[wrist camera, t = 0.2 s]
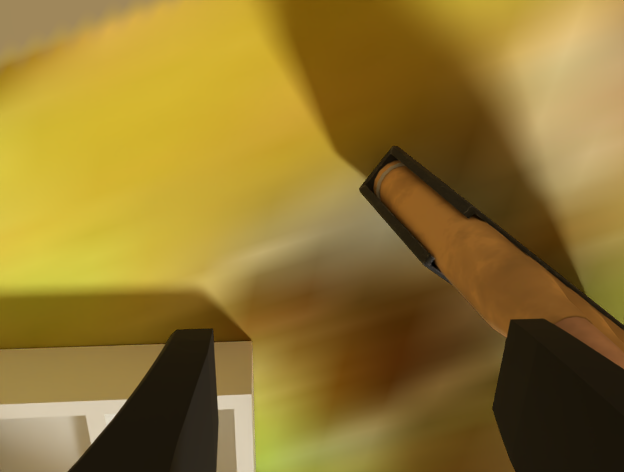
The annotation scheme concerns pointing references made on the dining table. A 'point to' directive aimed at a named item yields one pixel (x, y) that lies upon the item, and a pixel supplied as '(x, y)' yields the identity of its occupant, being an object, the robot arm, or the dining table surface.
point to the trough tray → (105, 402)
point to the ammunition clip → (483, 256)
